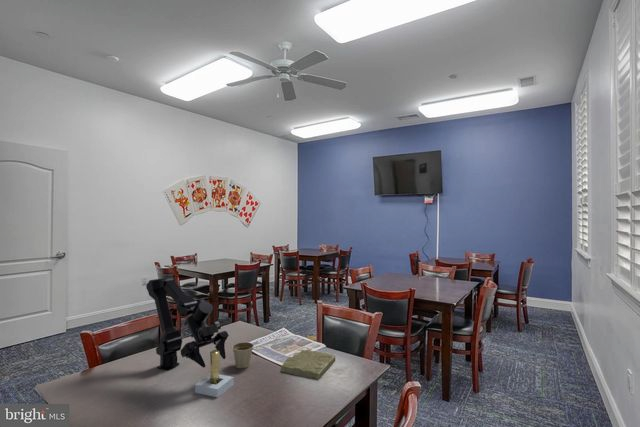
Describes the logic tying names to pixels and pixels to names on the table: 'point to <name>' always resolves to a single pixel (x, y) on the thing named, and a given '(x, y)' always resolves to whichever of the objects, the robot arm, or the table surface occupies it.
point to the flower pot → (242, 354)
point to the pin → (214, 367)
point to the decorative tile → (308, 364)
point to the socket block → (214, 386)
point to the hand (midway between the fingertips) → (215, 362)
